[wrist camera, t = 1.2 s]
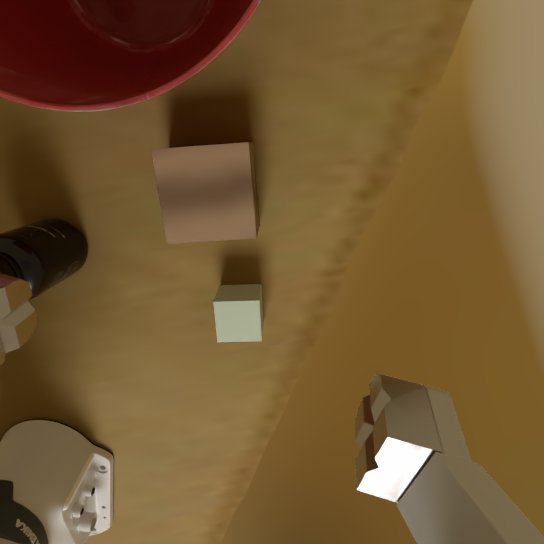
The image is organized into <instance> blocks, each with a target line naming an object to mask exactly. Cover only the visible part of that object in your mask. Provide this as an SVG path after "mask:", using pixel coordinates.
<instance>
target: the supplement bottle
mask: <svg viewBox="0 0 544 544" xmlns="http://www.w3.org/2000/svg"><path fill="white" fill-rule="evenodd" d="M86 257H87V247H86V243H85V241H84V238H83V237H82V235H81V234H80V232H79V231H78V230H77V229H76V228H74V227H73V226H72V225H70V224H68V223H66V222H64V221H61V220H56V219H49V220H44V221H40V222H36V223H33V224H30V225H27V226H23V227H20V228H17V229H14V230H11V231H7V232H4V233H1V234H0V273H1V274H5V275H8V276H12V277H15V278H19V279H22V280H24V281H26V282H28V283H29V284H30V288H31V291H32V296H31V298H30V299H32V298H34V297H36V296H38V295H39V294H41V293H43V292H44V291H46V290H48V289H49V288H51V287H53V286H54V285H56V284H58V283H59V282H61V281H63V280H64V279H66V278H67V277H69V276H71V275H72V274H74V273H75V272H77V271H78V270H79V269H81V268H82V266H83V265H84V263H85V261H86ZM30 299H29V300H30Z"/></svg>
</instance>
